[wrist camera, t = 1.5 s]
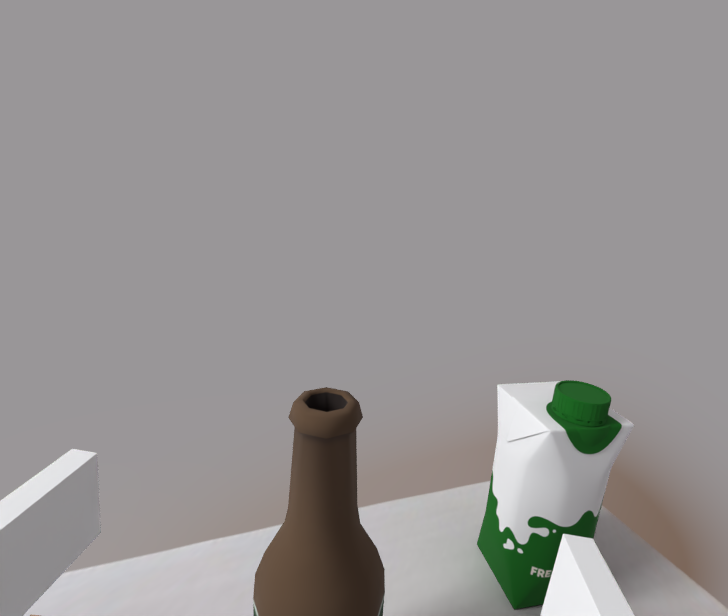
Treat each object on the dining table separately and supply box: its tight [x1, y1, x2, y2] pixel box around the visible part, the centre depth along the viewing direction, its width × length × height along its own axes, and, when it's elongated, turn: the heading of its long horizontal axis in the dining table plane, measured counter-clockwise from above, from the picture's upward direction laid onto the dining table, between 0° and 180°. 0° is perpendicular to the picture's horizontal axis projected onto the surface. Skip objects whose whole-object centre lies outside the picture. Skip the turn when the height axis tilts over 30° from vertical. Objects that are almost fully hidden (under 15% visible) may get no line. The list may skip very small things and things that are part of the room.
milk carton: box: [477, 381, 634, 609], centre depth 38 cm, size 9×9×20 cm
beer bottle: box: [253, 387, 385, 616], centre depth 25 cm, size 8×8×24 cm
